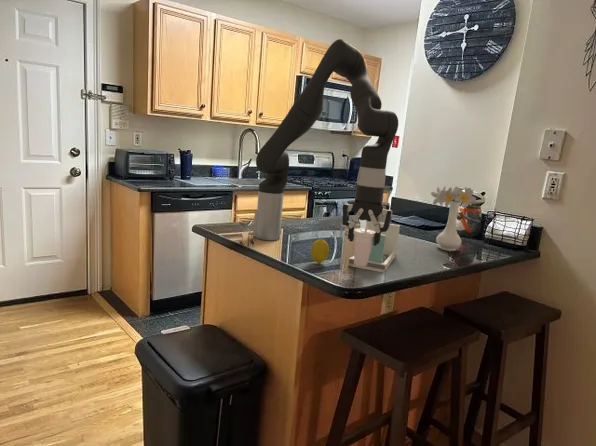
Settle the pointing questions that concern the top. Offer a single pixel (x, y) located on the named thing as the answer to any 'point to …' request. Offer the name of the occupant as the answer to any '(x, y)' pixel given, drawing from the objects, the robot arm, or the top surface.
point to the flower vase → (452, 214)
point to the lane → (389, 248)
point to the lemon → (320, 251)
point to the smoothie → (362, 245)
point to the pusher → (377, 250)
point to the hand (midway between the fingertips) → (363, 242)
